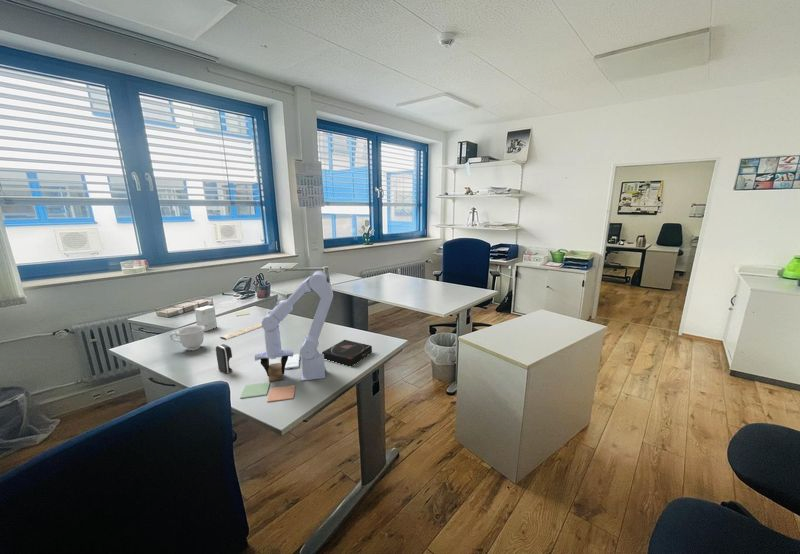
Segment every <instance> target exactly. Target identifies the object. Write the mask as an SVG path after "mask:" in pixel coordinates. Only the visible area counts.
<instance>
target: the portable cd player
mask: <svg viewBox="0 0 800 554" xmlns="http://www.w3.org/2000/svg"><path fill="white" fill-rule="evenodd" d="M321 352H322V353H321V354H324V359H327V360H330V361H329V362H331V361H334V362H333V363H335V362H337V363H336V364H338V363H340V364H339V365H342V364H344V365H343V366H345V365H347V367H349V366H351V367H350V368H352V367H354V366H355V365H356V364H358V363H359V362H361V361H362V360H363V358H364V357H365V358H366V357H368V356H369V355H371V354H372V353H373V346H372V345H370V344H365V343H361V342H356V341H354V340H353V341H352V340H348V339H343V340H341V341H339V342H338V343H336V344H334V345H333V346H330V347H329V348H327V349H325V350H323V351H321ZM371 352H372V353H371ZM370 353H371V354H370ZM368 354H369V355H368ZM367 355H368V356H367ZM365 358H364V359H365ZM361 359H362V360H361ZM327 360H326V361H327ZM360 360H361V361H360ZM357 362H358V363H357ZM354 364H355V365H354ZM353 365H354V366H353Z"/></svg>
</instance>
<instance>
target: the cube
mask: <svg viewBox="0 0 800 554" xmlns="http://www.w3.org/2000/svg"><path fill="white" fill-rule="evenodd" d="M268 374H269V376H268V382H273V381H280V380H281V381H282V380H283V377H284V374H282V364H281V363H280V362H276V363H269V368H268Z"/></svg>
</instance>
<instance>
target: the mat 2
mask: <svg viewBox="0 0 800 554" xmlns="http://www.w3.org/2000/svg"><path fill="white" fill-rule="evenodd" d="M269 389H270V390H269V393H268V397H267V401H266V402H267V403H272V402H280V401H286V400H294V397H295V389H296V384H295V385H294V384H292V385H286V386H285V385H284V386H278V387H270V388H269Z"/></svg>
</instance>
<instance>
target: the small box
mask: <svg viewBox="0 0 800 554" xmlns="http://www.w3.org/2000/svg"><path fill="white" fill-rule="evenodd" d="M194 315H195V321H196V326H198V325H199V326H204V327H205V329H204V333H205V332H208V331H210V330H214V329H216V327H217V328H218V325H217V324H218V323H217V316H216V308H215V306H213V305H204V306H201V307H197V308H194ZM213 328H214V329H213Z"/></svg>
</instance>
